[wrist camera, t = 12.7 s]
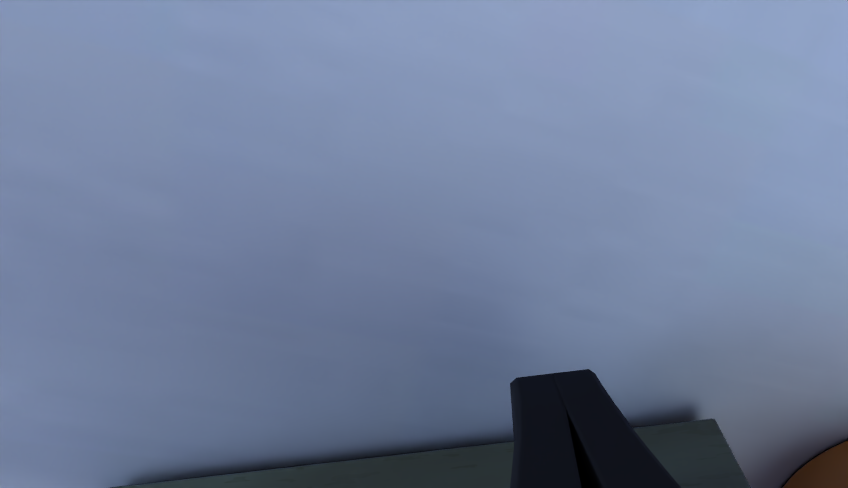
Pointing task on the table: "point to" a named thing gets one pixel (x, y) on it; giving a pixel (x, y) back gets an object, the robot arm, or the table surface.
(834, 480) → the jar
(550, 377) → the robot arm
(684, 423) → the drawer
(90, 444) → the table surface
